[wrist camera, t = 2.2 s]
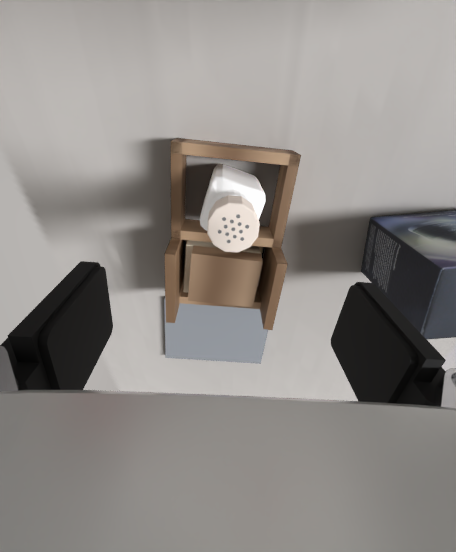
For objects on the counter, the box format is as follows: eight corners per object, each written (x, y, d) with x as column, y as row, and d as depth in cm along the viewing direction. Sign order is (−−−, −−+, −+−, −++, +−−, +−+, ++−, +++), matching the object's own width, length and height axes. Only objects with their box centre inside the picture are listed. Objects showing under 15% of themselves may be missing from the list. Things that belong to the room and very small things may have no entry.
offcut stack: (261, 238, 27) (267, 260, 23) (252, 282, 30) (256, 310, 26) (188, 229, 27) (181, 250, 23) (185, 275, 29) (178, 301, 25)
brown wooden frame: (292, 150, 23) (311, 161, 18) (264, 293, 30) (272, 329, 25) (176, 137, 23) (162, 145, 17) (176, 286, 30) (165, 322, 25)
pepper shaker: (243, 218, 26) (251, 266, 18) (202, 204, 25) (192, 248, 17) (259, 176, 24) (277, 208, 16) (216, 160, 23) (211, 185, 15)
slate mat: (272, 304, 31) (273, 306, 31) (260, 360, 36) (260, 363, 35) (165, 296, 30) (164, 298, 30) (166, 354, 35) (165, 357, 35)
